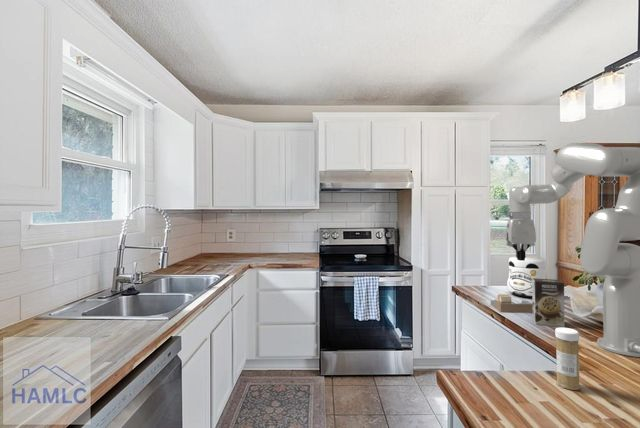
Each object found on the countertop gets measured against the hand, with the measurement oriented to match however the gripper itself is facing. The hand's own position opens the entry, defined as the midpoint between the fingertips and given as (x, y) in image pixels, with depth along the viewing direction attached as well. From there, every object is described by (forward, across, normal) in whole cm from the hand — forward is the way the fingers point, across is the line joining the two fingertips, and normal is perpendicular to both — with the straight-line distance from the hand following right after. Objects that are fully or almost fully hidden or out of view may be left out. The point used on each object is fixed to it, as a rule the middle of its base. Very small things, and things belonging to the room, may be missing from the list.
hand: (520, 260), depth 139 cm
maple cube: (+19, -7, 0) cm, 20 cm away
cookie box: (+21, +2, -16) cm, 27 cm away
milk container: (+21, +14, +25) cm, 36 cm away
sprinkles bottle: (+22, -18, -62) cm, 68 cm away
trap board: (+21, -2, +2) cm, 21 cm away
